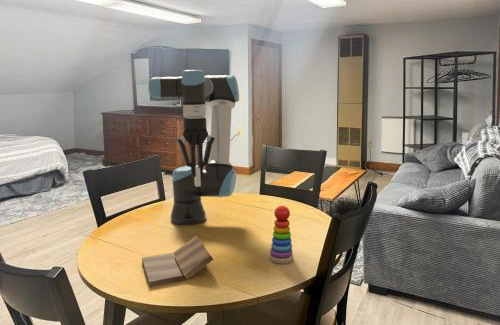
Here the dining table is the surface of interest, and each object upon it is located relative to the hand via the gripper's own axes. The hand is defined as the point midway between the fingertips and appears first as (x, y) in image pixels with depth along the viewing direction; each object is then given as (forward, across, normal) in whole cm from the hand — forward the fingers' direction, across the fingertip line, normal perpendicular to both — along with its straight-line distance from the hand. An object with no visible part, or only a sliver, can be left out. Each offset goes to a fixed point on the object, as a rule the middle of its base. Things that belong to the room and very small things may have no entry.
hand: (197, 185), depth 145 cm
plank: (+22, -5, -11) cm, 25 cm away
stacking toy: (+24, +24, -18) cm, 38 cm away
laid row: (+24, -15, -11) cm, 31 cm away
